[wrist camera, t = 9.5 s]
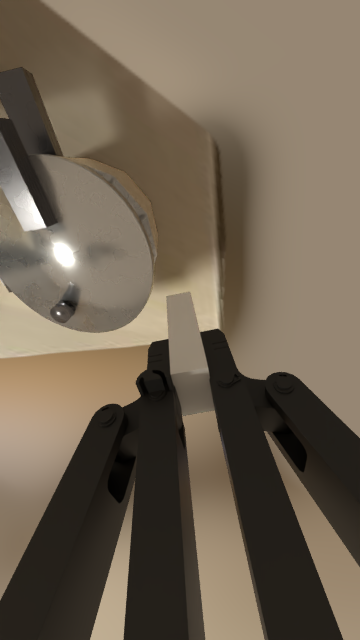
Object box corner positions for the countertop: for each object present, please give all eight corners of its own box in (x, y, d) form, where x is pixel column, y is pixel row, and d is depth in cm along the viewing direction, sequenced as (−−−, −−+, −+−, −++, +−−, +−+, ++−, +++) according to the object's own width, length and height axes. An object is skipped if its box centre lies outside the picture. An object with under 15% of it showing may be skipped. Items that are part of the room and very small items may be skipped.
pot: (63, 307, 39) (40, 341, 32) (-38, 116, 26) (-119, 98, 18) (170, 285, 38) (172, 315, 31) (121, 77, 25) (104, 41, 18)
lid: (40, 330, 31) (26, 343, 29) (-74, 151, 20) (-109, 152, 18) (171, 324, 26) (166, 339, 24) (111, 91, 16) (93, 83, 14)
